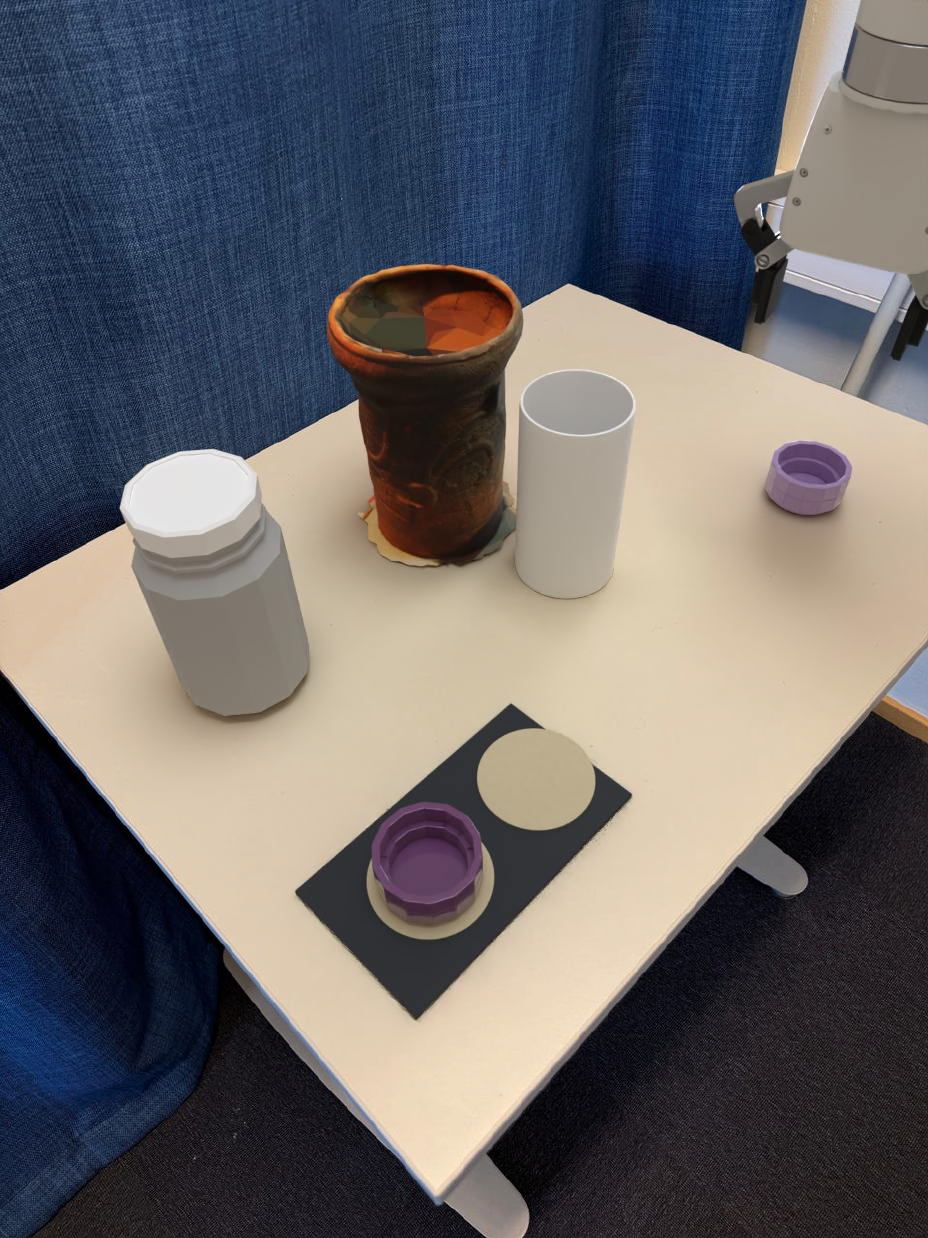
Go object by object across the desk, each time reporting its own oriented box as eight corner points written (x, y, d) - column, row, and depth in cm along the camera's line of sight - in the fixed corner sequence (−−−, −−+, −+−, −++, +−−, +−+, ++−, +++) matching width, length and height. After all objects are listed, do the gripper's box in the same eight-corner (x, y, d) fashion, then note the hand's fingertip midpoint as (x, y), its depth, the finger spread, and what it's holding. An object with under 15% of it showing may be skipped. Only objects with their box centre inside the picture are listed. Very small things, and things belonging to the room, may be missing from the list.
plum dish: (448, 811, 60) (446, 784, 57) (503, 894, 56) (503, 868, 53) (358, 859, 58) (352, 833, 55) (409, 949, 54) (404, 925, 51)
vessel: (403, 448, 87) (384, 244, 72) (542, 487, 82) (553, 278, 67) (326, 543, 78) (286, 334, 63) (476, 591, 74) (472, 379, 59)
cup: (589, 520, 79) (607, 359, 67) (630, 584, 74) (656, 421, 62) (501, 542, 77) (503, 381, 66) (536, 609, 72) (545, 447, 60)
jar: (174, 645, 71) (99, 461, 57) (296, 610, 73) (251, 425, 59) (194, 742, 64) (116, 562, 51) (327, 701, 67) (285, 518, 53)
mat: (515, 702, 66) (515, 698, 66) (636, 792, 61) (637, 788, 61) (295, 893, 57) (294, 890, 56) (416, 1020, 51) (415, 1017, 51)
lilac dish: (801, 461, 84) (811, 431, 81) (857, 501, 80) (869, 471, 77) (747, 486, 82) (756, 455, 79) (802, 528, 78) (812, 498, 75)
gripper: (1089, 66, 51) (968, 339, 64) (786, 24, 57) (732, 280, 70) (1069, 110, 47) (945, 393, 59) (745, 59, 53) (696, 325, 66)
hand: (830, 332), depth 65 cm, fingers open, 9 cm apart
